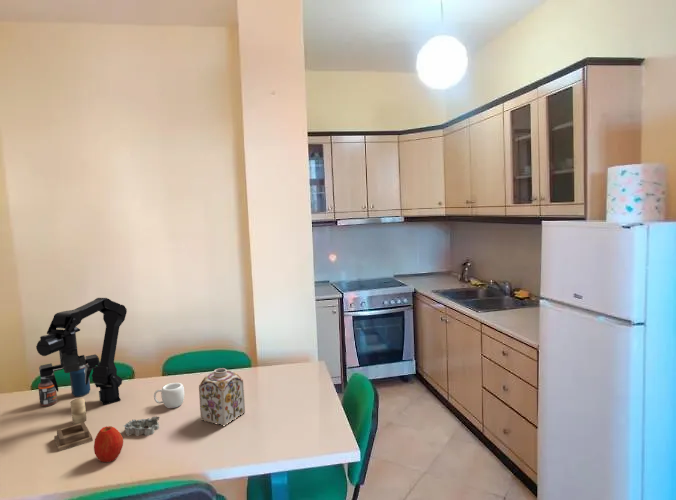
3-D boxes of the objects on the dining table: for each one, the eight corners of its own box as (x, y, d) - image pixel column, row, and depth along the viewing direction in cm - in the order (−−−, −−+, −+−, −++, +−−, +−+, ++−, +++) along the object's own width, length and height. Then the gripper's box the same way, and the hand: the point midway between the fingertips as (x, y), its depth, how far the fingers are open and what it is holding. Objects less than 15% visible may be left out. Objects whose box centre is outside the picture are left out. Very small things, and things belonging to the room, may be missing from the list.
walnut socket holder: (87, 429, 165) (86, 420, 164) (92, 440, 157) (91, 431, 156) (54, 439, 159) (53, 429, 158) (58, 451, 151) (57, 441, 150)
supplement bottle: (49, 407, 184) (46, 380, 182) (36, 406, 185) (33, 379, 184) (61, 401, 190) (58, 374, 188) (48, 400, 191) (45, 373, 190)
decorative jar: (200, 421, 168) (196, 373, 166) (222, 407, 178) (219, 362, 176) (225, 427, 163) (222, 378, 161) (246, 413, 173) (243, 367, 171)
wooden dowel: (85, 417, 174) (83, 397, 173) (87, 421, 171) (85, 401, 170) (71, 421, 171) (69, 400, 171) (73, 425, 168) (71, 404, 167)
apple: (128, 450, 150) (125, 419, 148) (117, 465, 141) (114, 432, 140) (102, 452, 149) (99, 420, 148) (89, 466, 141) (86, 433, 140)
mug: (188, 400, 186) (187, 381, 185) (180, 410, 178) (178, 390, 177) (159, 400, 187) (157, 382, 186) (149, 410, 178) (148, 390, 177)
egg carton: (161, 427, 165) (161, 416, 165) (150, 437, 158) (149, 426, 157) (134, 425, 167) (133, 414, 167) (121, 435, 160) (120, 424, 159)
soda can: (94, 391, 199) (91, 364, 197) (81, 398, 192) (78, 370, 190) (81, 389, 200) (78, 363, 199) (68, 396, 194) (65, 369, 192)
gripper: (38, 358, 156) (44, 402, 158) (100, 346, 167) (104, 387, 169) (36, 350, 165) (41, 392, 167) (95, 339, 176) (99, 378, 178)
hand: (72, 387), depth 170 cm, fingers open, 9 cm apart
